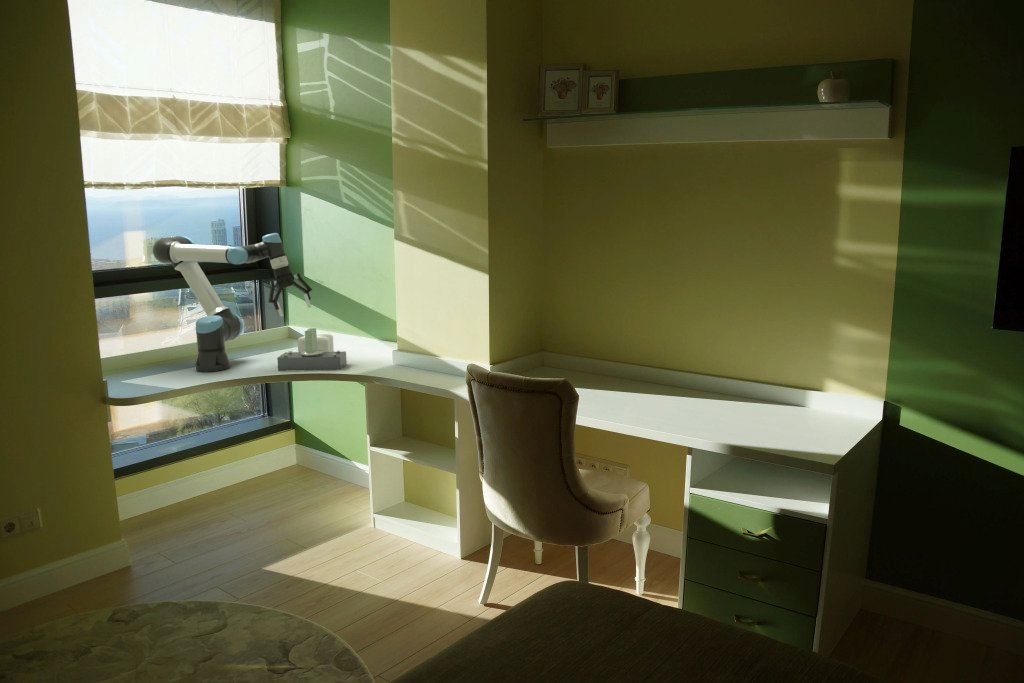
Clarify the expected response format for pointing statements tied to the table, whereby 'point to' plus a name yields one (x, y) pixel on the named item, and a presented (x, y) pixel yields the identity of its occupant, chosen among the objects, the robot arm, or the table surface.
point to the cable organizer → (318, 343)
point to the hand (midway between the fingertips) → (295, 311)
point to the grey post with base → (311, 343)
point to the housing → (312, 361)
